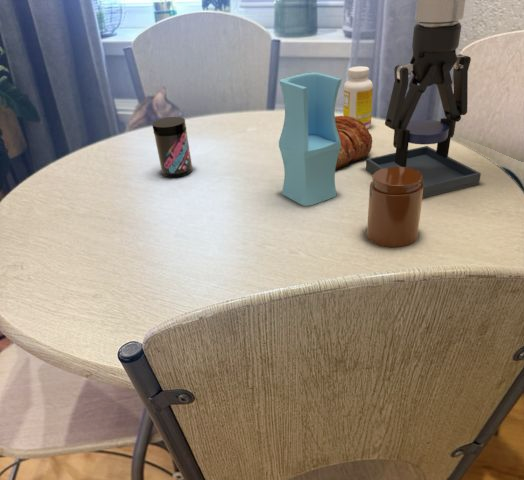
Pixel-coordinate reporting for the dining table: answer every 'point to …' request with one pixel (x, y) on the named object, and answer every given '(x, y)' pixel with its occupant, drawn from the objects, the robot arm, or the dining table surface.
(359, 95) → the supplement bottle
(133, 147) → the dining table surface
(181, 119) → the supplement container
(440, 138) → the lid
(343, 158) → the pastry
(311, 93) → the blue toy chair
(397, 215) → the jar
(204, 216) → the dining table surface
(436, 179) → the tray
